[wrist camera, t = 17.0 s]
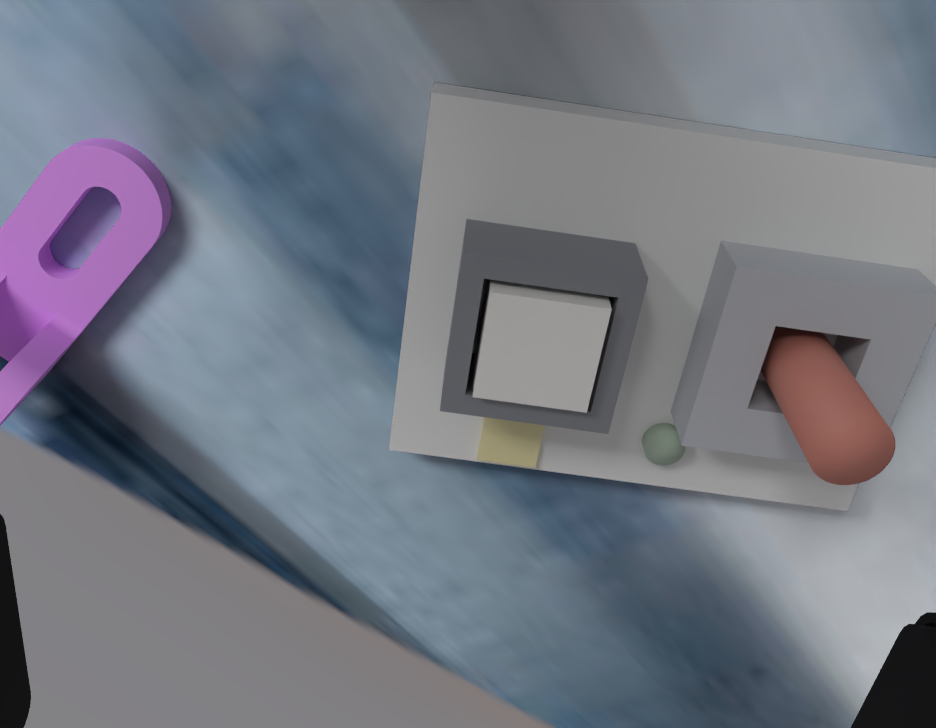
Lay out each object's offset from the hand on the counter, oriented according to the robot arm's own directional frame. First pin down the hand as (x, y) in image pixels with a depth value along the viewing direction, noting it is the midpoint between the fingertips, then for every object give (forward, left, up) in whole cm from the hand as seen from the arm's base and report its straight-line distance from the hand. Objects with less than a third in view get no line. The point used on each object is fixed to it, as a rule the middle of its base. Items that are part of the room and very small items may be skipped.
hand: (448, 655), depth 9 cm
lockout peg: (+10, +16, -31) cm, 36 cm away
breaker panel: (+10, +10, -33) cm, 36 cm away
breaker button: (+10, +4, -30) cm, 32 cm away
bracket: (+11, -19, -33) cm, 40 cm away
